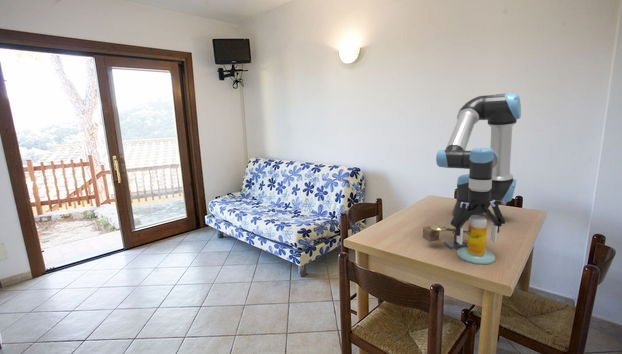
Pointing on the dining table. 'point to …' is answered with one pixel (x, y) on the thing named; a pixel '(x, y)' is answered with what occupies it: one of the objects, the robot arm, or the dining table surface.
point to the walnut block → (430, 234)
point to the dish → (476, 257)
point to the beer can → (477, 235)
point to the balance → (450, 244)
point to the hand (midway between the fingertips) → (476, 242)
